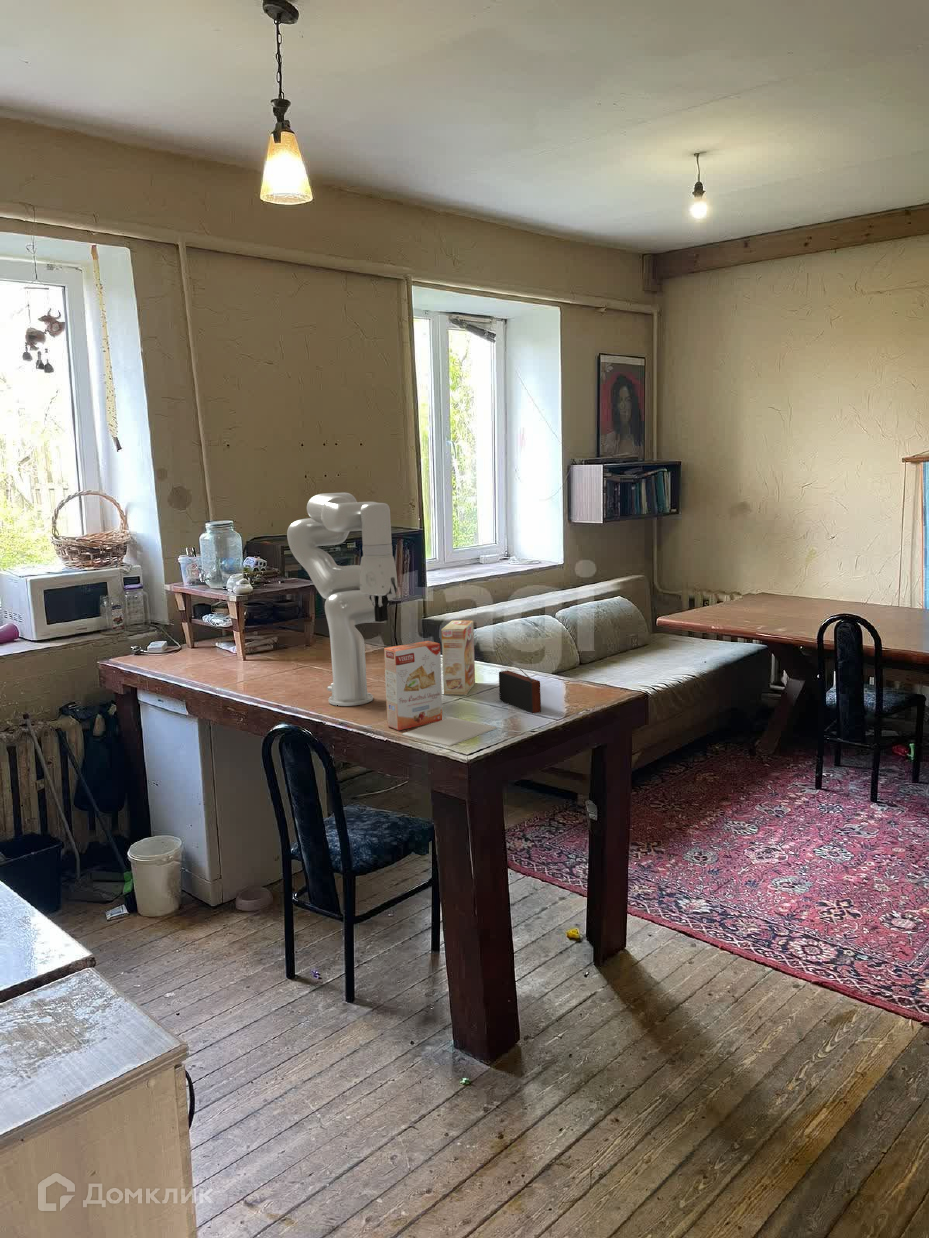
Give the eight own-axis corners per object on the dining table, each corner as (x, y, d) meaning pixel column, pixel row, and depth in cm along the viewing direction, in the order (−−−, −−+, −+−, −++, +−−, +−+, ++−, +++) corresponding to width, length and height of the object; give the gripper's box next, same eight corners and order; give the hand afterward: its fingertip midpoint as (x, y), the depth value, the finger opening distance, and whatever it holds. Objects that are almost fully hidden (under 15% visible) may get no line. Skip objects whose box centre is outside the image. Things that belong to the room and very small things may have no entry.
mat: (401, 734, 228) (401, 733, 228) (450, 718, 241) (450, 717, 241) (449, 746, 217) (449, 745, 217) (497, 728, 230) (497, 726, 230)
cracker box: (399, 731, 230) (395, 650, 227) (386, 726, 235) (382, 647, 232) (444, 720, 239) (441, 642, 235) (431, 716, 243) (427, 639, 240)
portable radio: (542, 712, 244) (540, 657, 241) (532, 714, 242) (531, 658, 240) (505, 697, 260) (503, 646, 257) (495, 699, 258) (494, 647, 256)
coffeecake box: (466, 695, 264) (464, 629, 260) (442, 695, 265) (439, 629, 262) (476, 682, 278) (474, 619, 275) (453, 682, 280) (451, 619, 276)
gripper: (347, 551, 239) (351, 620, 242) (387, 553, 229) (391, 625, 232) (368, 548, 244) (372, 616, 247) (408, 550, 234) (411, 621, 237)
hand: (381, 620), depth 239 cm, fingers closed
